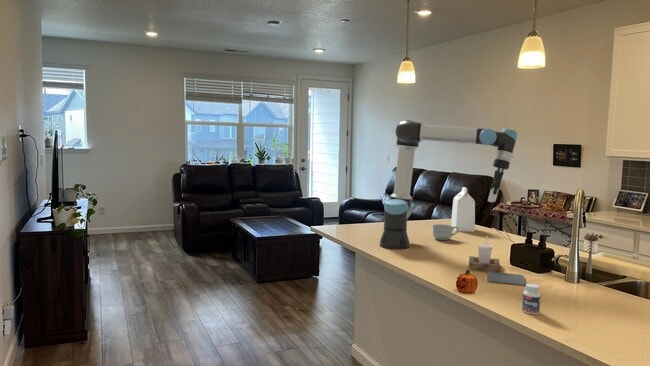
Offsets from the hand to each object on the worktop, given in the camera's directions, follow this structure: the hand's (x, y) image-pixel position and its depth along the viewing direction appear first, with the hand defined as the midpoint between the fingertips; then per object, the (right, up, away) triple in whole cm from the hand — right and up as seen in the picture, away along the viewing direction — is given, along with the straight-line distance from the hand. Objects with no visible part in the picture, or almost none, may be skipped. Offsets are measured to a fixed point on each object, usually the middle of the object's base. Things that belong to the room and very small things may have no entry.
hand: (491, 201), depth 237 cm
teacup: (-16, -22, +27) cm, 39 cm away
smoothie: (-13, -28, -29) cm, 42 cm away
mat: (-10, -29, -46) cm, 55 cm away
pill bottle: (-16, -33, -81) cm, 89 cm away
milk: (+2, -20, +58) cm, 61 cm away
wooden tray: (-13, -28, -29) cm, 42 cm away
